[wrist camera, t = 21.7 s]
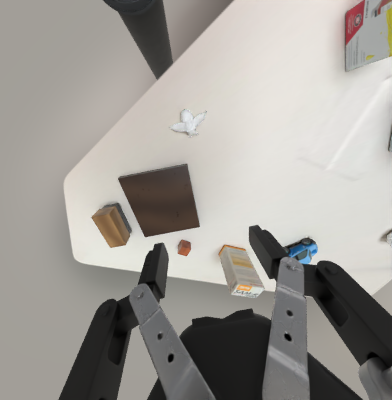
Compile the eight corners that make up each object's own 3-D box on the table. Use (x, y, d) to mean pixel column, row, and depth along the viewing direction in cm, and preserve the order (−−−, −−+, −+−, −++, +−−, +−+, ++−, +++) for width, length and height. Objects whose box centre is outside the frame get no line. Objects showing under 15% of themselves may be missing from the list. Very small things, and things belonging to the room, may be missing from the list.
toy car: (312, 245, 49) (327, 259, 44) (280, 259, 51) (290, 274, 46) (310, 235, 47) (325, 248, 42) (275, 250, 49) (286, 264, 44)
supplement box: (218, 254, 47) (229, 295, 36) (224, 244, 45) (238, 284, 34) (238, 258, 49) (255, 299, 38) (245, 249, 47) (265, 288, 36)
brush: (119, 233, 40) (110, 247, 35) (103, 204, 36) (91, 217, 31) (132, 230, 40) (125, 245, 35) (119, 202, 36) (108, 214, 31)
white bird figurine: (203, 98, 26) (209, 106, 23) (208, 123, 30) (214, 132, 27) (164, 115, 27) (165, 124, 24) (174, 137, 31) (176, 148, 27)
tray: (119, 176, 33) (117, 178, 32) (186, 163, 32) (187, 164, 31) (145, 234, 41) (144, 237, 40) (199, 224, 41) (199, 226, 40)
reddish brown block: (186, 248, 45) (178, 246, 44) (190, 242, 44) (181, 239, 43) (186, 256, 42) (177, 253, 42) (191, 249, 41) (181, 246, 40)
